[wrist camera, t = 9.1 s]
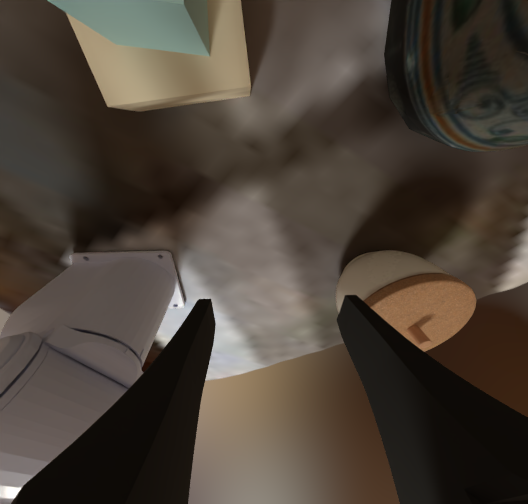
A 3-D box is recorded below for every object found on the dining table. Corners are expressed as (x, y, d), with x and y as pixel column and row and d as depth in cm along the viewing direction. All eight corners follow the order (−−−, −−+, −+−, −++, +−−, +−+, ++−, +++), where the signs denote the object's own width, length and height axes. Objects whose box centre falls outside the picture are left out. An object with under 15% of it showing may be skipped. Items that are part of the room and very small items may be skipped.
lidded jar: (307, 265, 22) (340, 339, 15) (400, 214, 20) (503, 271, 12) (340, 314, 28) (378, 389, 20) (418, 279, 25) (497, 349, 17)
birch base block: (140, 112, 14) (107, 106, 11) (68, -82, 10) (-24, -191, 6) (249, 96, 14) (250, 86, 11) (225, -104, 10) (214, -224, 7)
